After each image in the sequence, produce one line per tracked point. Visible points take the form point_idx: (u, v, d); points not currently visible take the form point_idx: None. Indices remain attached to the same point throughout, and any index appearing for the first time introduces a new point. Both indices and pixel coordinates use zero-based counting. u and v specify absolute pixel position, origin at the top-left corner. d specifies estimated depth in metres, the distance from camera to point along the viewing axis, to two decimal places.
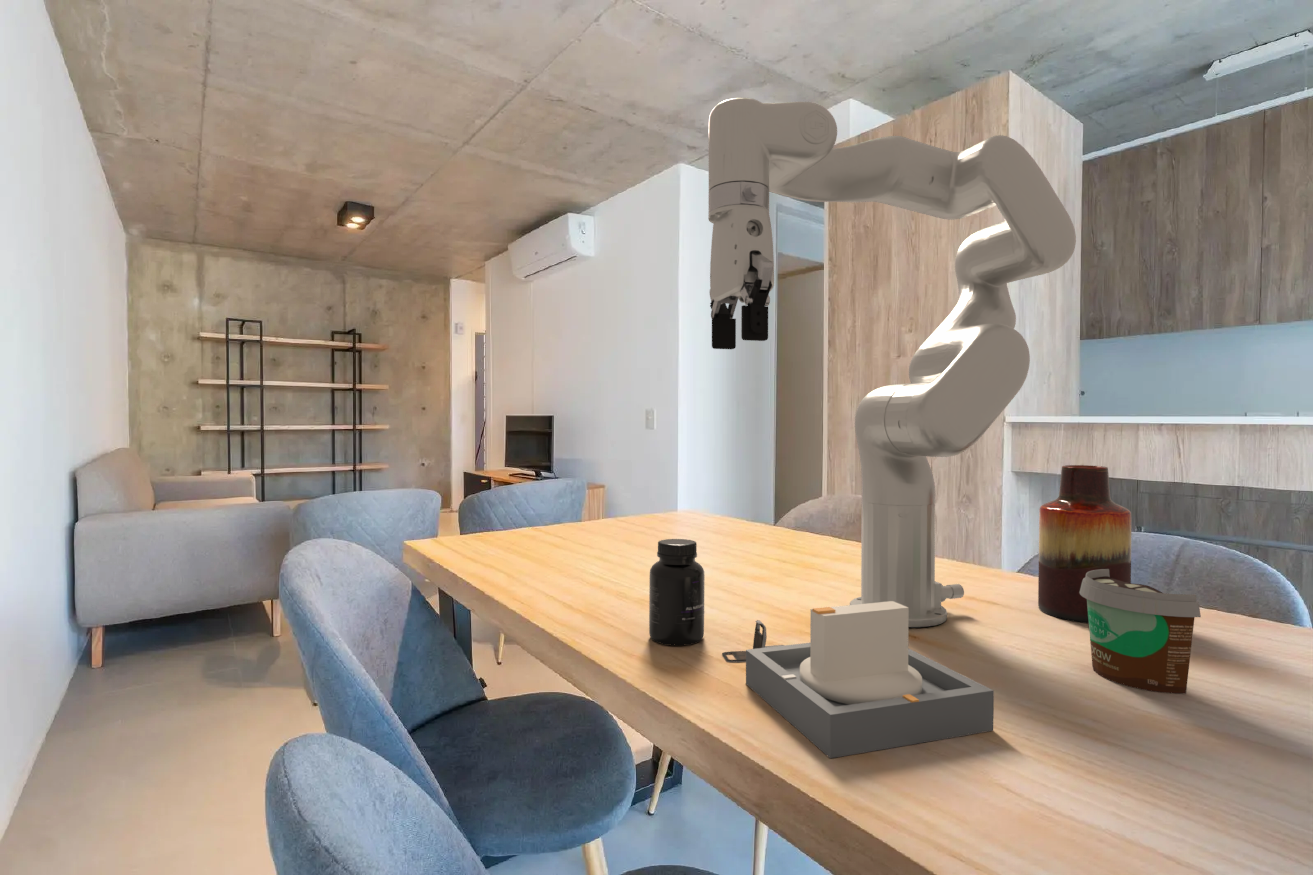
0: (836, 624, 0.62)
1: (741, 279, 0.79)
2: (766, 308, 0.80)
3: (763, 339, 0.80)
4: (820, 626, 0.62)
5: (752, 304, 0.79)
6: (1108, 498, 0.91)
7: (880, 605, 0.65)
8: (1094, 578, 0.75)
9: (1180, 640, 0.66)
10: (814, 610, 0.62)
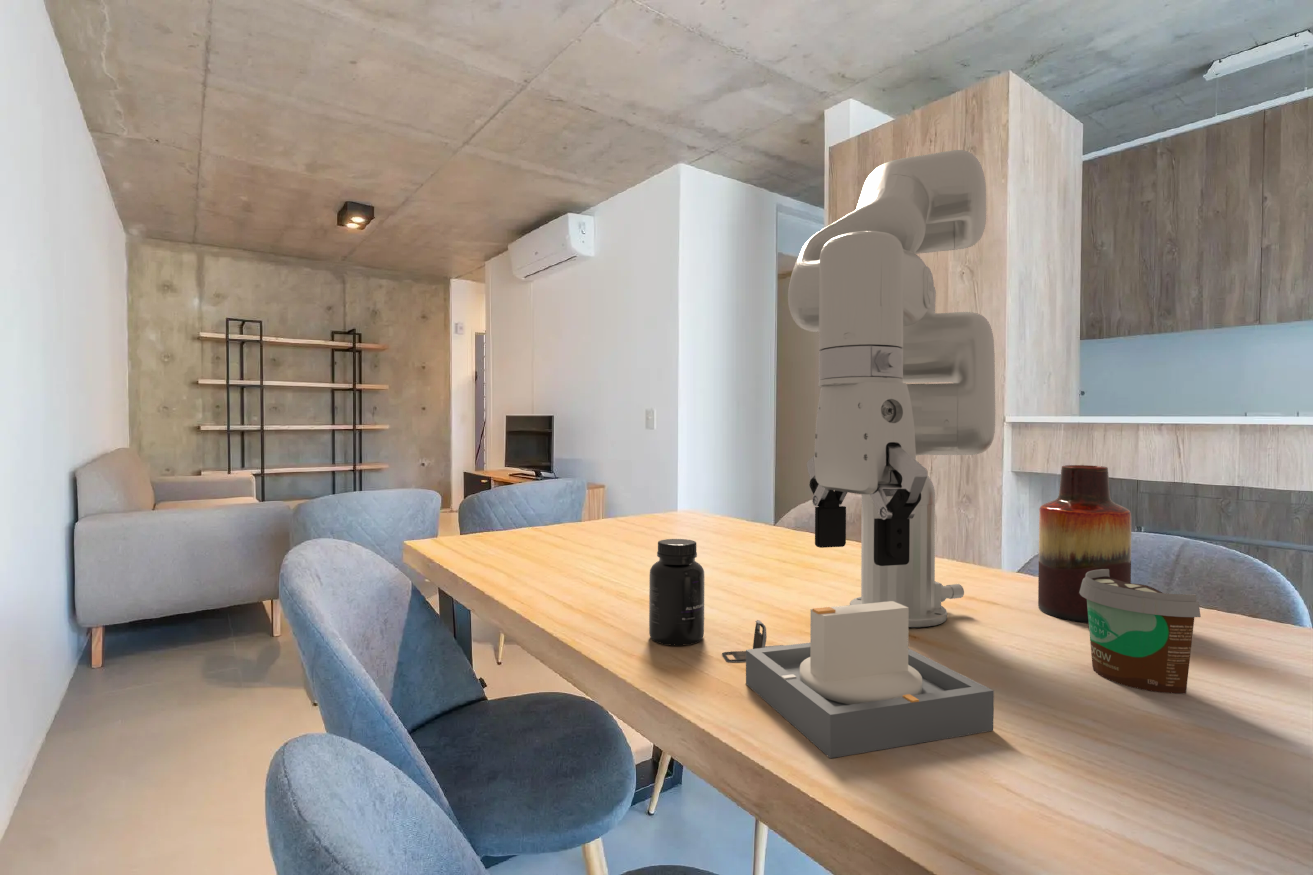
0: (836, 624, 0.62)
1: (874, 482, 0.58)
2: (907, 520, 0.58)
3: (903, 563, 0.58)
4: (820, 626, 0.62)
5: (890, 519, 0.57)
6: (1108, 498, 0.91)
7: (880, 605, 0.65)
8: (1094, 578, 0.75)
9: (1180, 640, 0.66)
10: (814, 610, 0.62)
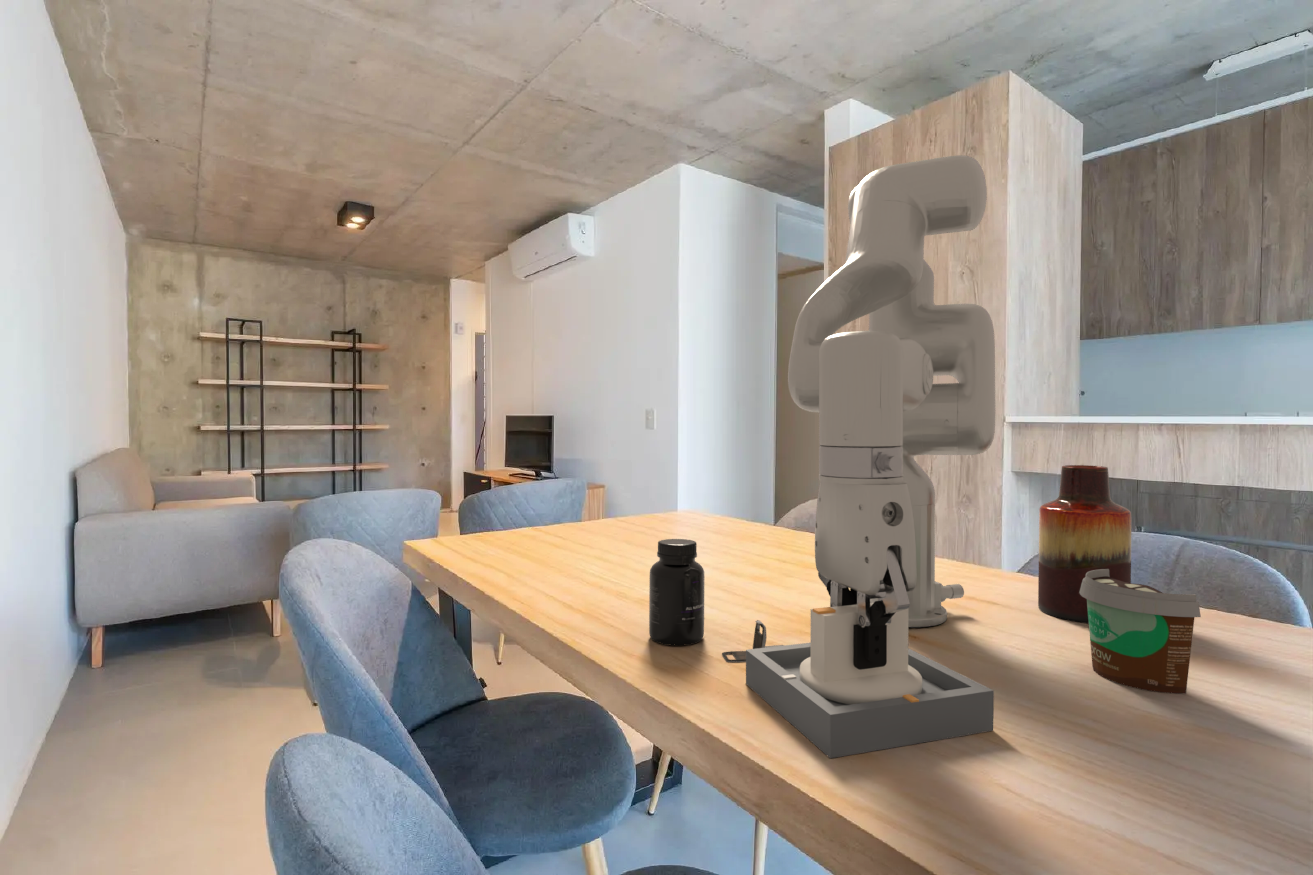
0: (836, 624, 0.61)
1: (876, 585, 0.58)
2: (884, 625, 0.62)
3: (881, 665, 0.62)
4: (820, 626, 0.62)
5: (869, 626, 0.61)
6: (1108, 498, 0.91)
7: None
8: (1094, 578, 0.75)
9: (1180, 640, 0.66)
10: (814, 610, 0.62)
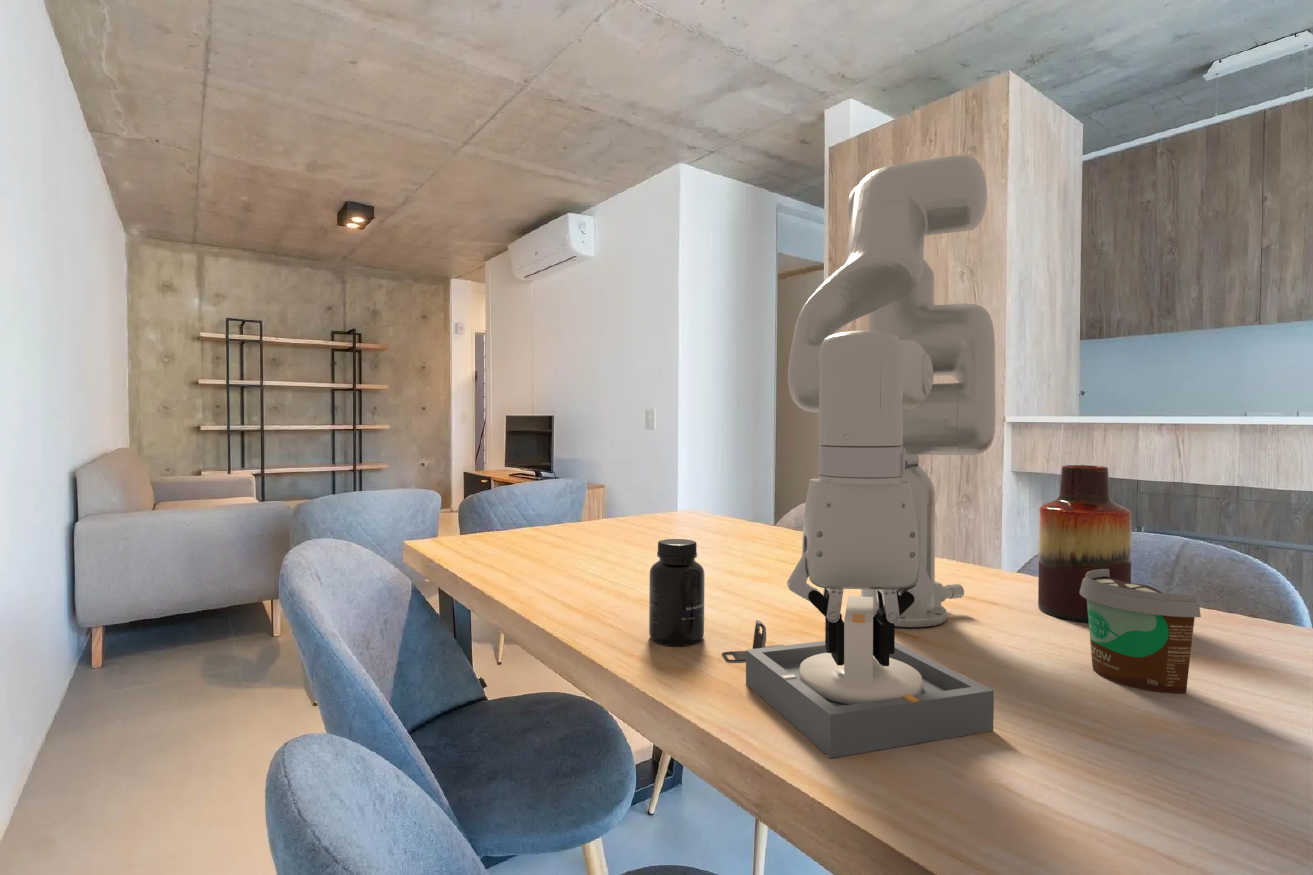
0: None
1: (917, 577, 0.61)
2: None
3: None
4: (865, 635, 0.59)
5: (894, 620, 0.63)
6: (1108, 498, 0.91)
7: (857, 601, 0.66)
8: (1094, 578, 0.75)
9: (1180, 640, 0.66)
10: (856, 620, 0.59)
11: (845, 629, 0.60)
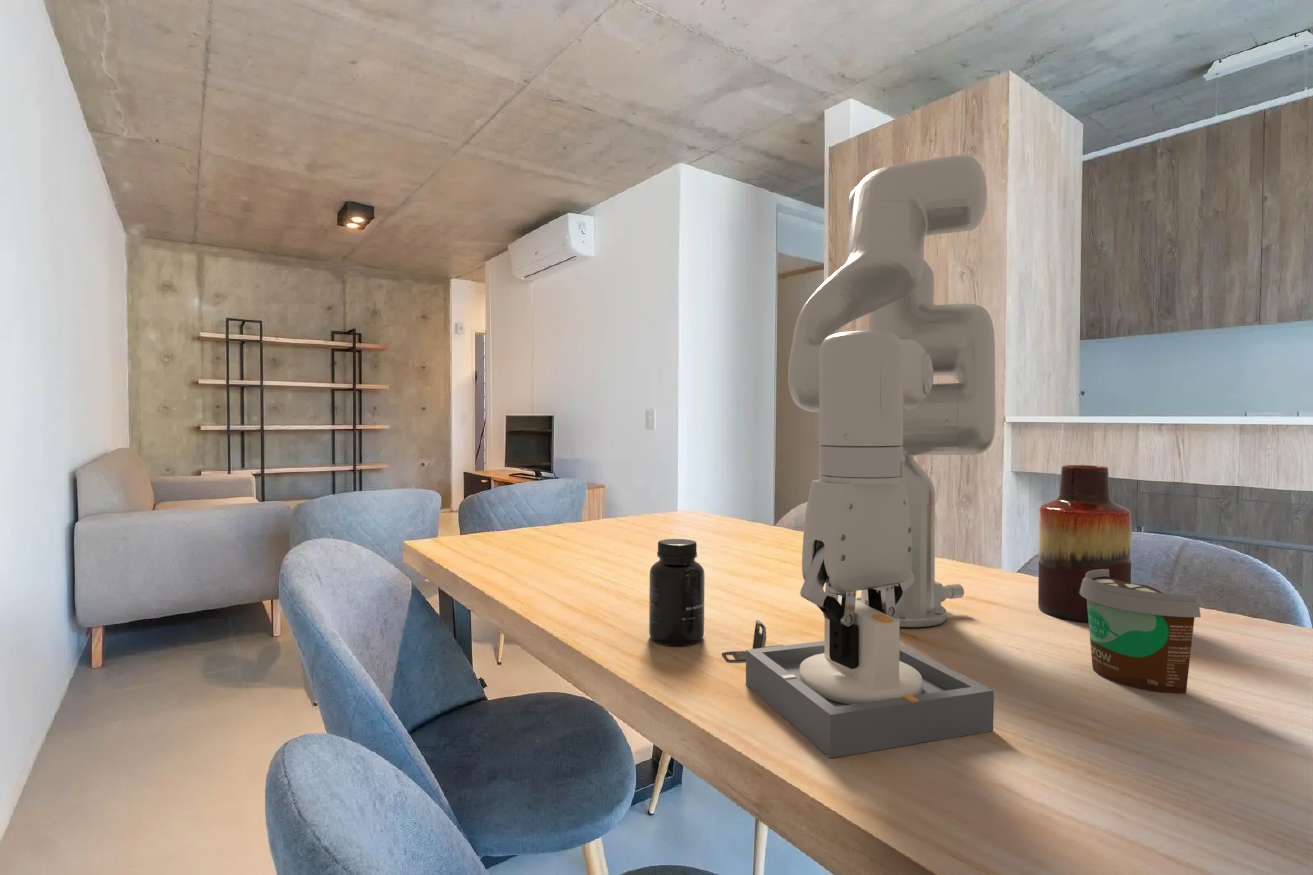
0: None
1: None
2: None
3: None
4: (893, 634, 0.59)
5: (888, 615, 0.64)
6: (1108, 498, 0.91)
7: None
8: (1094, 578, 0.75)
9: (1180, 640, 0.66)
10: (886, 621, 0.59)
11: (876, 631, 0.59)
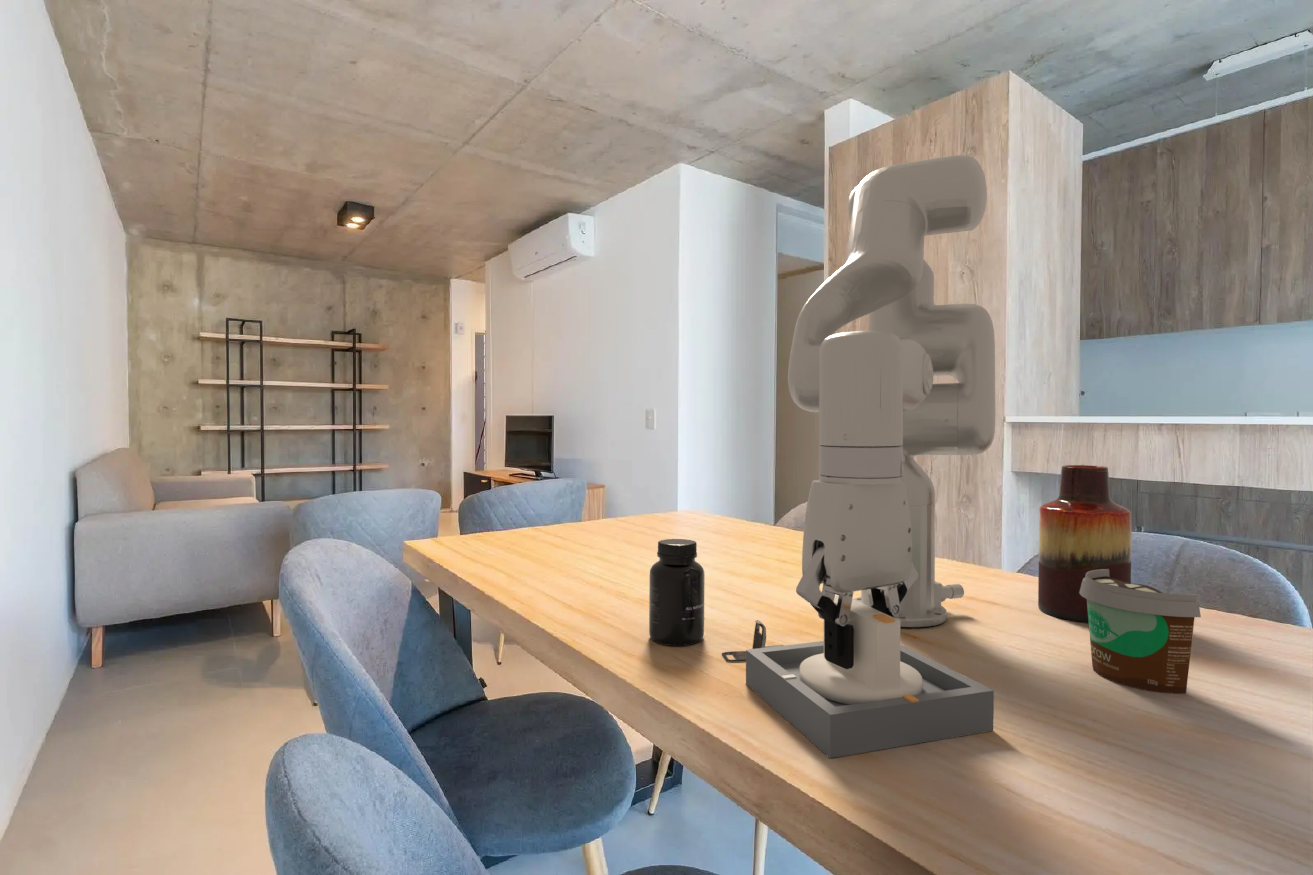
0: None
1: None
2: None
3: None
4: (894, 634, 0.59)
5: (893, 613, 0.65)
6: (1108, 498, 0.91)
7: None
8: (1094, 578, 0.75)
9: (1180, 640, 0.66)
10: (888, 620, 0.59)
11: (877, 631, 0.59)
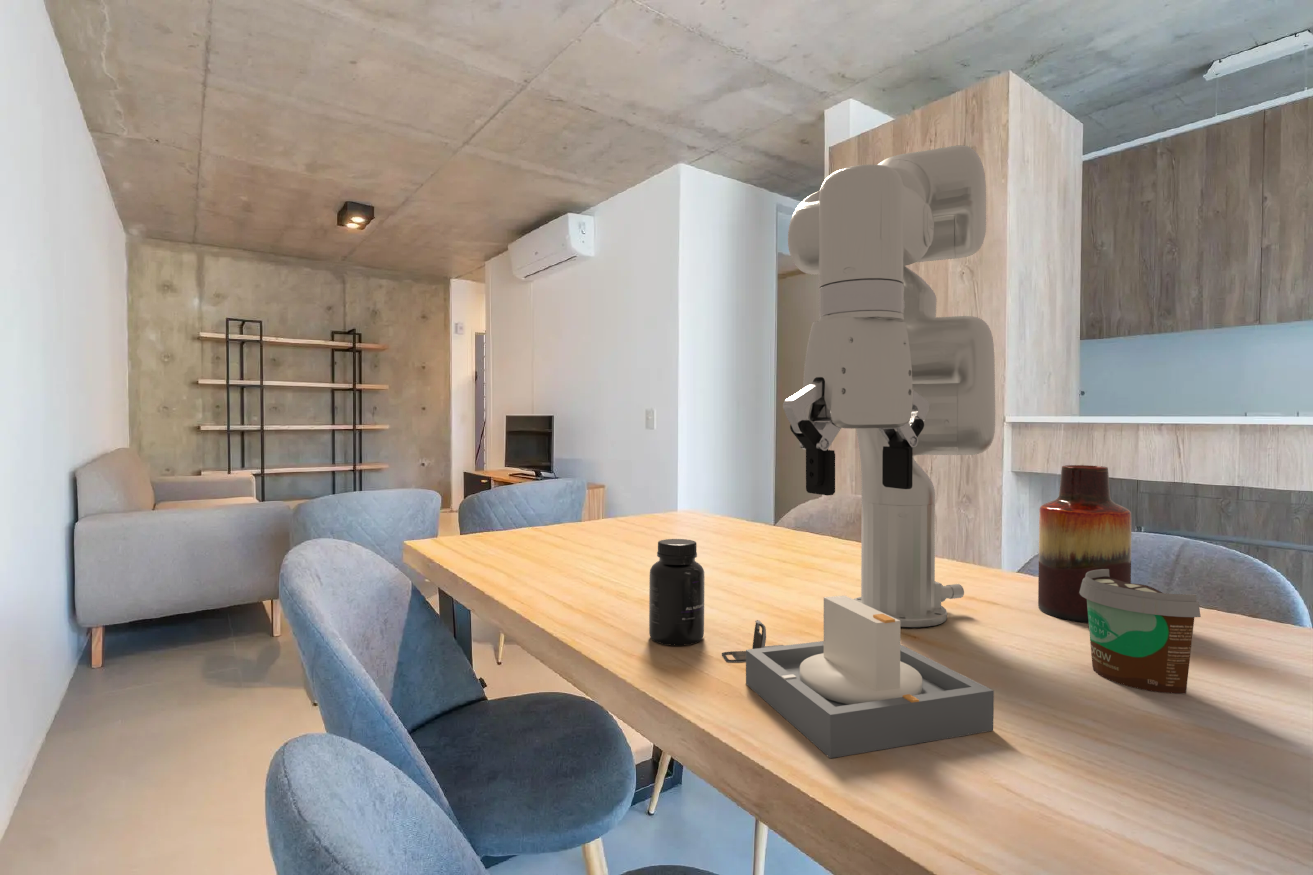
0: None
1: None
2: None
3: None
4: (894, 634, 0.59)
5: None
6: (1108, 498, 0.91)
7: (843, 601, 0.66)
8: (1094, 578, 0.75)
9: (1180, 640, 0.66)
10: (888, 620, 0.59)
11: (877, 631, 0.59)
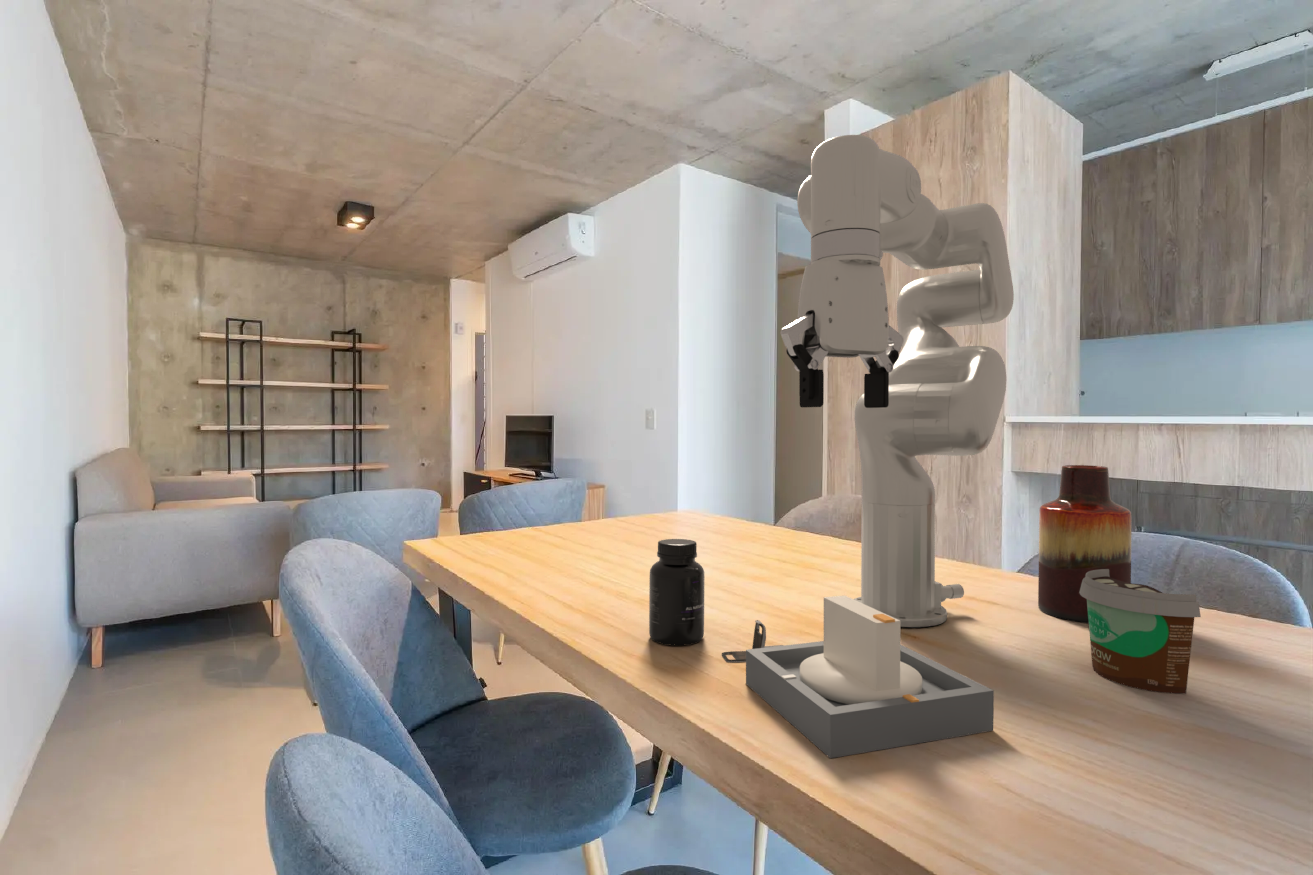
0: None
1: (887, 345, 0.77)
2: None
3: None
4: (894, 634, 0.59)
5: None
6: (1108, 498, 0.91)
7: (843, 601, 0.66)
8: (1094, 578, 0.75)
9: (1180, 640, 0.66)
10: (888, 620, 0.59)
11: (877, 631, 0.59)
